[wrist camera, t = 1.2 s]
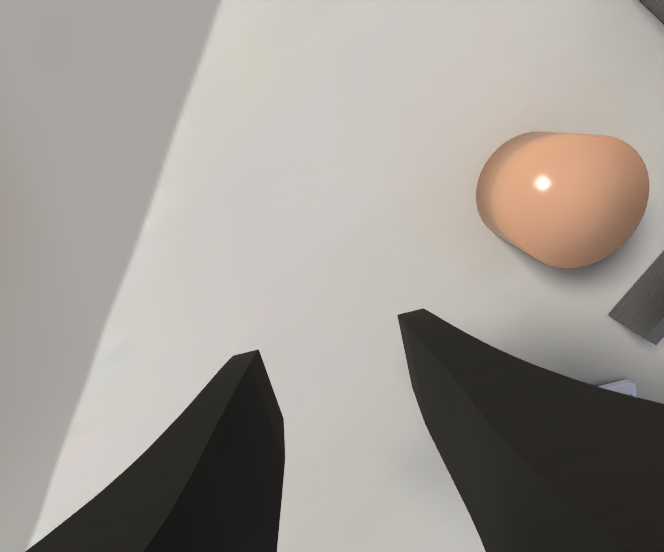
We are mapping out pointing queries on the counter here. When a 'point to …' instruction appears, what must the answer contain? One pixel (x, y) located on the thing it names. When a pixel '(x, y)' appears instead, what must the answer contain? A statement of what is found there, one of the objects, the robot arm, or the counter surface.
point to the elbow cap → (563, 196)
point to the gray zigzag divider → (646, 276)
